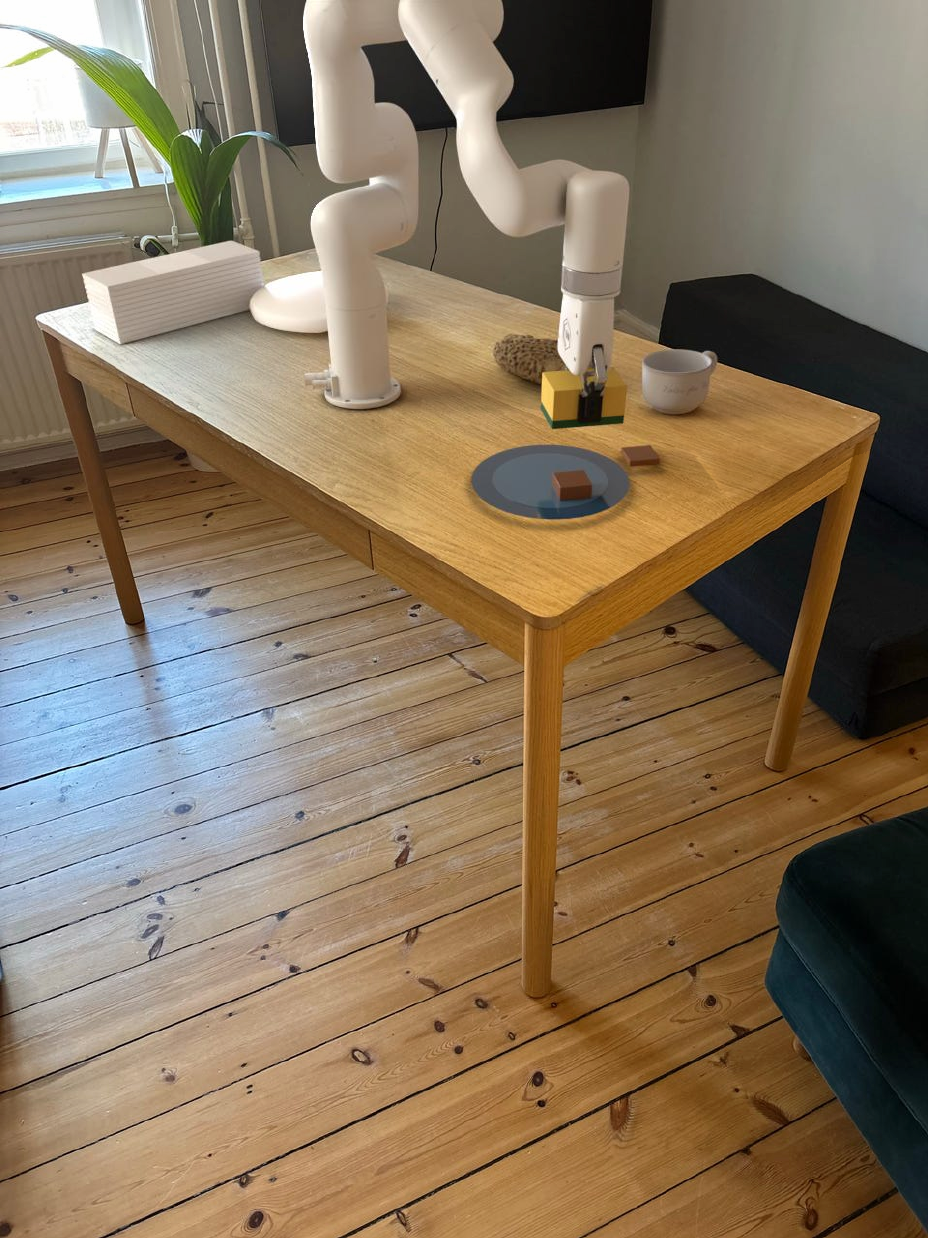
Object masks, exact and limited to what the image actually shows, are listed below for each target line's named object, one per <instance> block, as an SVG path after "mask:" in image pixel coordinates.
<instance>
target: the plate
mask: <svg viewBox="0 0 928 1238" xmlns="http://www.w3.org/2000/svg"><path fill="white" fill-rule="evenodd" d="M384 285H385V294H386V306H387V305H388V302H389V298H390V291H389V287H388V285H387V283H386V282H385V281H384ZM263 286H264V287H262V288H260V289H259V290H258V291H257V292H256V293H254V295H253V297H252V298H251V300H250V310H249V311H250V313H251V314H252V317H253V319H254V320H255V321H256V322H258V324H260V325H263V326H264V327H265V326H266V327H268V328H271V329H275V330H279V331H284V332H290V333H291V332H292V333H303V334H304V333H305V334H320V333H326V332H328V326H327V315H326V305H325V296H324V287H323V279H322V272H321V270H318V271H317V270H316V271H311V272H304V273H299V274H294V275H291V276H287V277H283V278H280V279H277V280H274V281H271V282H269V283H267V284H266V285H263Z"/></svg>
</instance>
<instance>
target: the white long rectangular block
mask: <svg viewBox="0 0 928 1238" xmlns="http://www.w3.org/2000/svg"><path fill="white" fill-rule="evenodd" d="M260 253H261V252H260V251H259V250H257V249H254V248H252V247H249V246H246V245H244V244H241V243H240V242H239V243H238V242H236V241H234V240H227V241H223V242H218V243H214V244H209V245H204V246H199V247H196V248H191V249H187V250H183V251H178V252H173V253H169V254H165V255H160V256H155V257H151V258H146V259H141V260H137V261H133V262H132V261H131V262H128V263H124V264H119V265H115V266H110V267H106V268H101V269H97V270H92V271H87V272H84V273H81V275H82V279H83V284H84V288H85V294H86V296H87V299H88V300H87V302H88V304H89V309H90V314H91V318H92V323H93V326H94V330H95V331H97V332H98V333H100V334H102V335H104V336H105V337H107V338H108V339H110V340H112V341H114V342H116V343H117V344H119V345H123V344H126V343H131V342H134V341H138V340H141V339H142V340H143V339H145V338H149V337H152V336H153V337H154V336H156V335H160V334H165V333H167V332H171V331H176V330H179V329H183V328H186V327H190V326H194V325H197V324H202V323H205V322H209V321H212V320H218V319H220V318H223V317H227V316H231V315H235V314H238V313H242V312H246V311H251V310H250V300H251V298H252V297H253V295H254V293H256V292H257V291H258V290H259V289H260V288H262V287H264V286H265V284H264V277H263V269H262V262H261V254H260Z"/></svg>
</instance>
